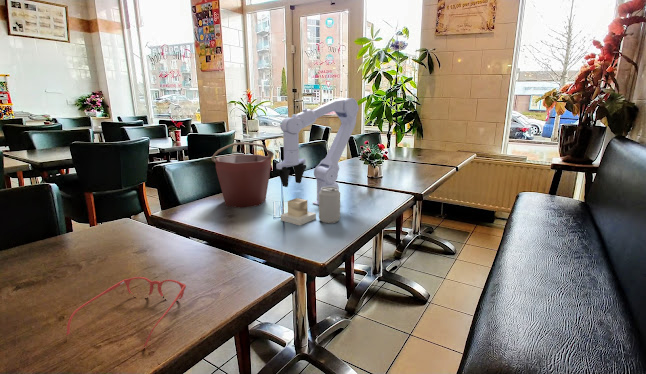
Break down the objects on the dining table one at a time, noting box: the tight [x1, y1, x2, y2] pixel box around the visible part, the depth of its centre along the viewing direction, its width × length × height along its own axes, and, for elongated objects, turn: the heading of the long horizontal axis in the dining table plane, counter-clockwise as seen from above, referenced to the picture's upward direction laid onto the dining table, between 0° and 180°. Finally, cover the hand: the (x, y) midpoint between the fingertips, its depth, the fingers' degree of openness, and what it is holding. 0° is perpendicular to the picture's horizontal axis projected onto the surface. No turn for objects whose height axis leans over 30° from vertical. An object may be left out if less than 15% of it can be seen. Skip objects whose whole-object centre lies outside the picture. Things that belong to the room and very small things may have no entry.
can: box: [318, 187, 341, 224], centre depth 123 cm, size 8×8×12 cm
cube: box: [287, 197, 309, 217], centre depth 124 cm, size 5×5×5 cm
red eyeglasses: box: [66, 276, 187, 347], centre depth 68 cm, size 17×16×5 cm
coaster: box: [280, 211, 317, 226], centre depth 125 cm, size 9×9×2 cm
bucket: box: [211, 142, 275, 209], centre depth 143 cm, size 24×22×25 cm
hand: (291, 184), depth 135 cm, fingers open, 7 cm apart
